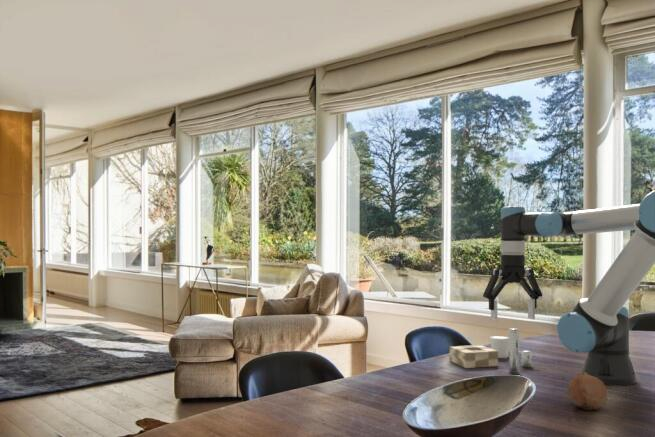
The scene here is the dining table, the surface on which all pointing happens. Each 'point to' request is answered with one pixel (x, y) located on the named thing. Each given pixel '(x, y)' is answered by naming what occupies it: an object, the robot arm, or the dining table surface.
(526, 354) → the short pin
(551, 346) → the dining table surface
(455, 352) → the hole block
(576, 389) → the onion
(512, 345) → the long pin
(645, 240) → the robot arm
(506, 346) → the shot glass
